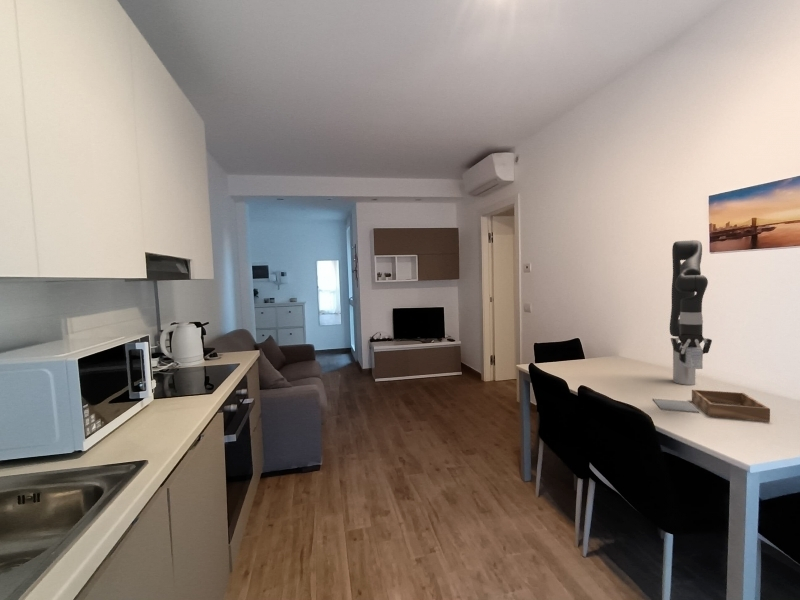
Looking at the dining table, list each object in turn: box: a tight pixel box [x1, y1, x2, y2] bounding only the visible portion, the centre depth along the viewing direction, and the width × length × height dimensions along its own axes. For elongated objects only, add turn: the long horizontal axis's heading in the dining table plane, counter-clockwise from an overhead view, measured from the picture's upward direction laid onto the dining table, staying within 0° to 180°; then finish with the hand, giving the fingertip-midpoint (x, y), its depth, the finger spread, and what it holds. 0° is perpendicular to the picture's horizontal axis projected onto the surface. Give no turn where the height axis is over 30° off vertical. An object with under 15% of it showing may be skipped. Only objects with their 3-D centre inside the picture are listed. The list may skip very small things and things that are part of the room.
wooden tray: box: [691, 389, 771, 423], centre depth 149 cm, size 20×18×5 cm
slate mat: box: [652, 398, 700, 414], centre depth 156 cm, size 13×13×1 cm
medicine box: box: [680, 346, 703, 370], centre depth 152 cm, size 8×4×9 cm, turn 170°
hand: (690, 362), depth 152 cm, fingers closed on medicine box, 5 cm apart
